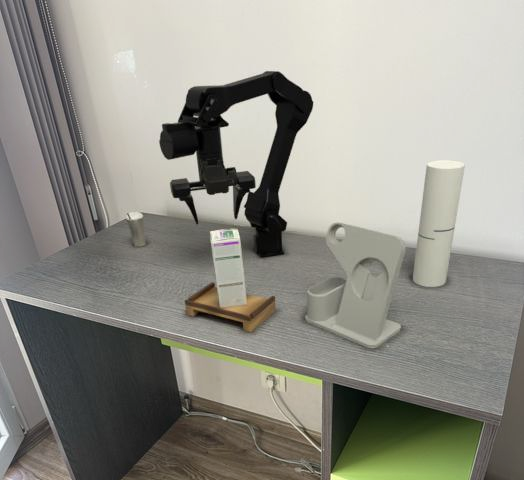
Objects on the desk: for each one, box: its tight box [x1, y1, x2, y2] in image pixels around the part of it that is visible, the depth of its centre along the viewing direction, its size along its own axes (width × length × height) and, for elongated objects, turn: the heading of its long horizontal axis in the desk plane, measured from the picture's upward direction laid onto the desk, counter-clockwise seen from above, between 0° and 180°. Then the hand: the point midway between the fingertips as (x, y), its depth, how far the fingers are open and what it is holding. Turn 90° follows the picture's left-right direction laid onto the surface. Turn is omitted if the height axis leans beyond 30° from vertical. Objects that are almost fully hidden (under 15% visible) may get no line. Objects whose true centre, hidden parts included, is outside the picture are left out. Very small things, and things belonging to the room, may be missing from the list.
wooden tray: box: [184, 282, 277, 333], centre depth 102 cm, size 16×10×4 cm, turn 59°
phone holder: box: [304, 222, 407, 349], centre depth 92 cm, size 17×10×18 cm, turn 45°
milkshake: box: [125, 211, 147, 248], centre depth 137 cm, size 4×5×10 cm
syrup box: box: [209, 227, 247, 308], centre depth 98 cm, size 6×6×14 cm
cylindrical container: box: [412, 159, 466, 288], centre depth 104 cm, size 7×7×25 cm
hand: (216, 221), depth 116 cm, fingers open, 9 cm apart
